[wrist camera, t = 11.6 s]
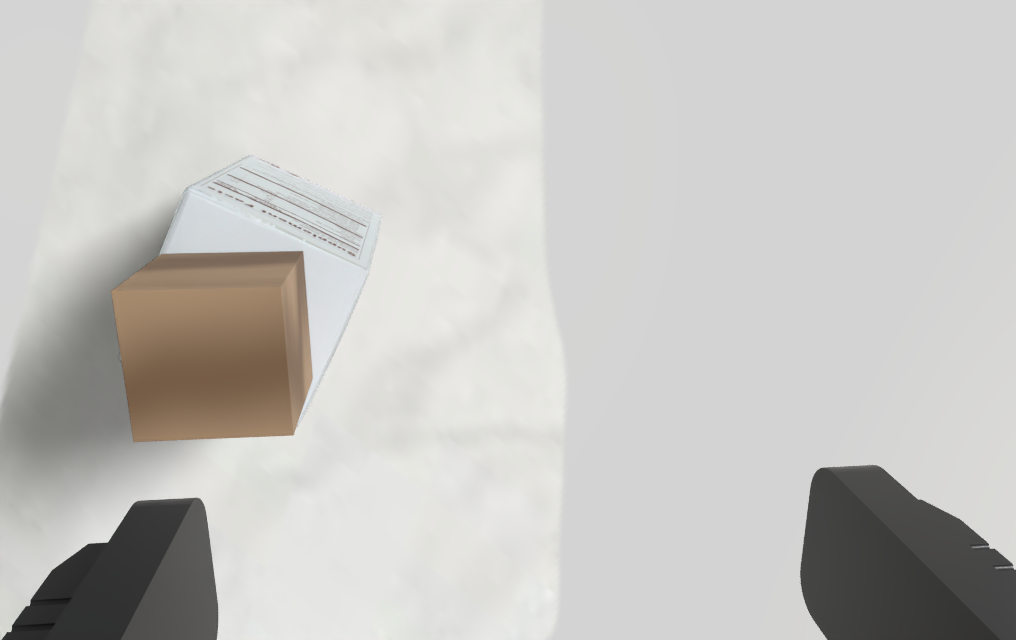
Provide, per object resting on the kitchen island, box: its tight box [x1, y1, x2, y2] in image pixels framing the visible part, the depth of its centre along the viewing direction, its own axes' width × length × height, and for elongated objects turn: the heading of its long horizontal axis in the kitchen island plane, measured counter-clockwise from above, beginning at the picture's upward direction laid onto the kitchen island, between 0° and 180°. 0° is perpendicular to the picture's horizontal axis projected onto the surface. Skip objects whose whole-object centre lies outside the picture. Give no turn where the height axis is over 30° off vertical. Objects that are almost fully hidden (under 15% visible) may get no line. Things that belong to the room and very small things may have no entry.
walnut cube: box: [111, 251, 313, 442], centre depth 28 cm, size 5×5×5 cm
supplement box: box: [118, 155, 382, 427], centre depth 36 cm, size 7×7×13 cm
